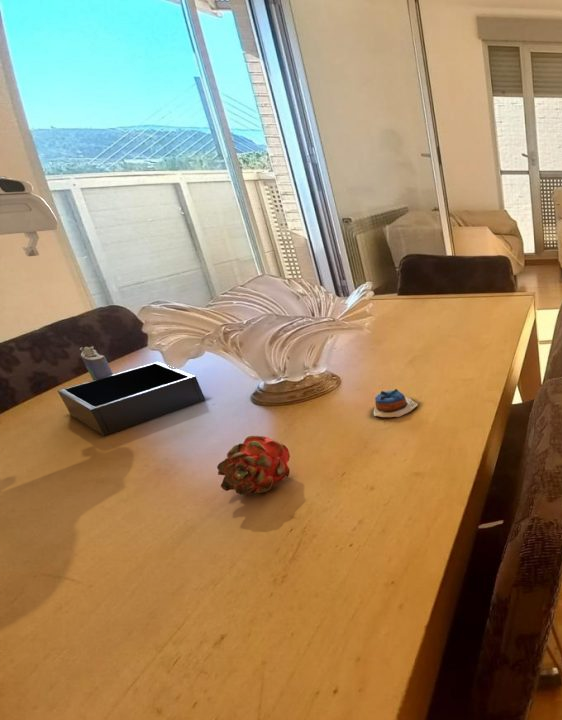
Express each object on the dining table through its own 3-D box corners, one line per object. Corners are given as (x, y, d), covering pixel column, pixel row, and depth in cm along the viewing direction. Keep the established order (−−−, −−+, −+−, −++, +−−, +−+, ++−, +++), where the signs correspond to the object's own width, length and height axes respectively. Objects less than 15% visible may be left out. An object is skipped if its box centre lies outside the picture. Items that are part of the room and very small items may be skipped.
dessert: (361, 413, 90) (370, 383, 91) (384, 417, 96) (393, 388, 97) (396, 421, 88) (405, 390, 89) (418, 424, 94) (426, 395, 95)
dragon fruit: (263, 518, 67) (262, 487, 76) (308, 467, 70) (301, 444, 79) (200, 490, 62) (206, 461, 72) (251, 437, 65) (250, 416, 74)
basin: (104, 436, 86) (90, 409, 84) (70, 415, 94) (57, 390, 92) (205, 399, 99) (195, 376, 97) (168, 383, 107) (158, 361, 105)
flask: (125, 394, 102) (101, 348, 98) (106, 399, 100) (81, 353, 96) (112, 385, 107) (90, 340, 103) (94, 390, 105) (70, 345, 101)
